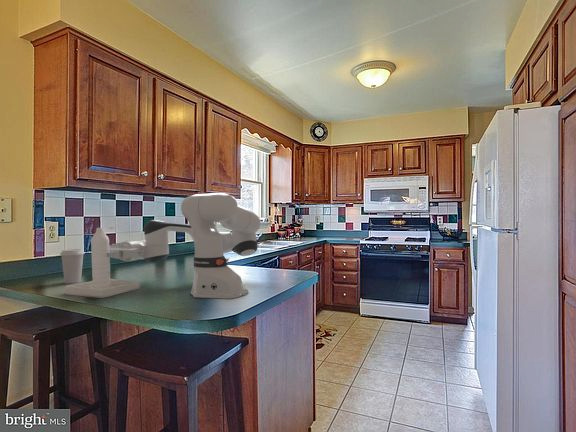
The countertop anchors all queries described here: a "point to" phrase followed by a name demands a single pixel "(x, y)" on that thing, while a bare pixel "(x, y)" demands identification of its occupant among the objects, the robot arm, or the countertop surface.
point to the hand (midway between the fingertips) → (101, 254)
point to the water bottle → (100, 260)
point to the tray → (115, 289)
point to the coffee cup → (72, 265)
